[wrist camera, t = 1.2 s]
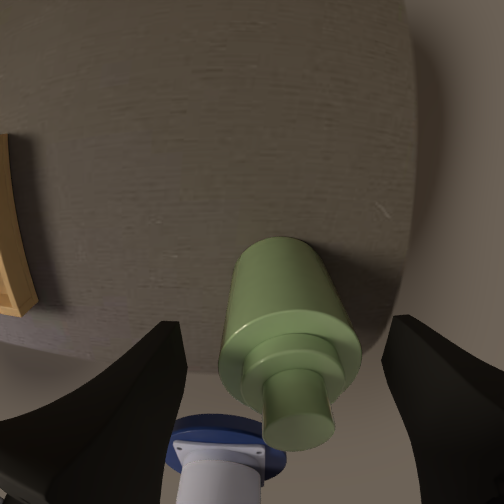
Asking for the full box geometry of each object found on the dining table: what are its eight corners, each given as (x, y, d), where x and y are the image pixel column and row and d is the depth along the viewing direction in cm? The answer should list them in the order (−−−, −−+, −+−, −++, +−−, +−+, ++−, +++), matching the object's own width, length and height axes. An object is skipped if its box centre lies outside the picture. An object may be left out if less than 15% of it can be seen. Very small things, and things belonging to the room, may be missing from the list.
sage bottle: (321, 318, 15) (362, 463, 7) (234, 320, 15) (217, 472, 7) (328, 235, 13) (408, 363, 5) (229, 236, 13) (195, 375, 6)
